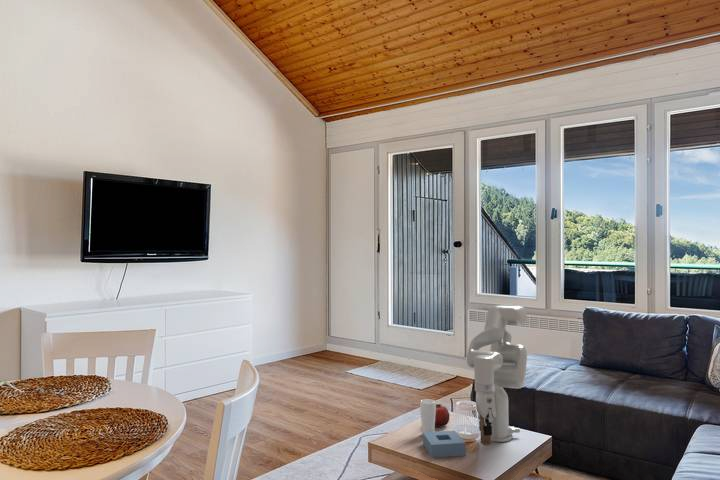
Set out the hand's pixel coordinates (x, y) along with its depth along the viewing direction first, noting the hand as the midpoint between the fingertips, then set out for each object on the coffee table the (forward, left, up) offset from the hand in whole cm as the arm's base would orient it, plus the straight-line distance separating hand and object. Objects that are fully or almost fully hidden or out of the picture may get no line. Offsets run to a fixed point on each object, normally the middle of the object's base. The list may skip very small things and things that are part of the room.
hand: (485, 432), depth 208 cm
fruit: (+9, -37, -10) cm, 39 cm away
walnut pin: (0, 0, -4) cm, 4 cm away
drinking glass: (+17, -26, -10) cm, 32 cm away
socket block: (+15, -9, -9) cm, 20 cm away
